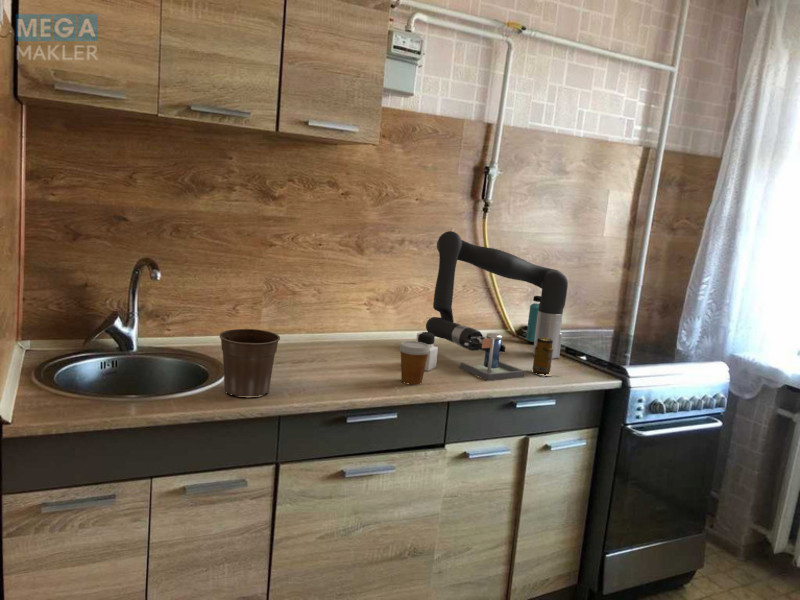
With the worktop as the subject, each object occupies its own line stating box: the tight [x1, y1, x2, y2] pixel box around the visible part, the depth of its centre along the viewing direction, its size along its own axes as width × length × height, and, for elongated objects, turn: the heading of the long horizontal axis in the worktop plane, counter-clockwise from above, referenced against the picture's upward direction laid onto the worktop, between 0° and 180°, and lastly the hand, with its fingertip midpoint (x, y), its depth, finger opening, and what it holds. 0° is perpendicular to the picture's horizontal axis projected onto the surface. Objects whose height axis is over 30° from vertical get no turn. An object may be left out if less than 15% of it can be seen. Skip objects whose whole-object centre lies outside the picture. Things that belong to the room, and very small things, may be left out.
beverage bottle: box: [525, 295, 541, 342], centre depth 278 cm, size 6×7×20 cm
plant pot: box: [219, 328, 281, 397], centre depth 186 cm, size 16×16×16 cm
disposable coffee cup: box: [398, 340, 430, 385], centre depth 209 cm, size 10×10×12 cm
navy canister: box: [483, 332, 503, 368], centre depth 228 cm, size 5×5×11 cm
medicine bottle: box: [415, 331, 439, 372], centre depth 227 cm, size 7×7×12 cm
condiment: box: [527, 338, 556, 378], centre depth 233 cm, size 7×8×12 cm
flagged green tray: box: [459, 338, 526, 382], centre depth 227 cm, size 15×20×14 cm
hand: (498, 349), depth 226 cm, fingers closed on navy canister, 5 cm apart
